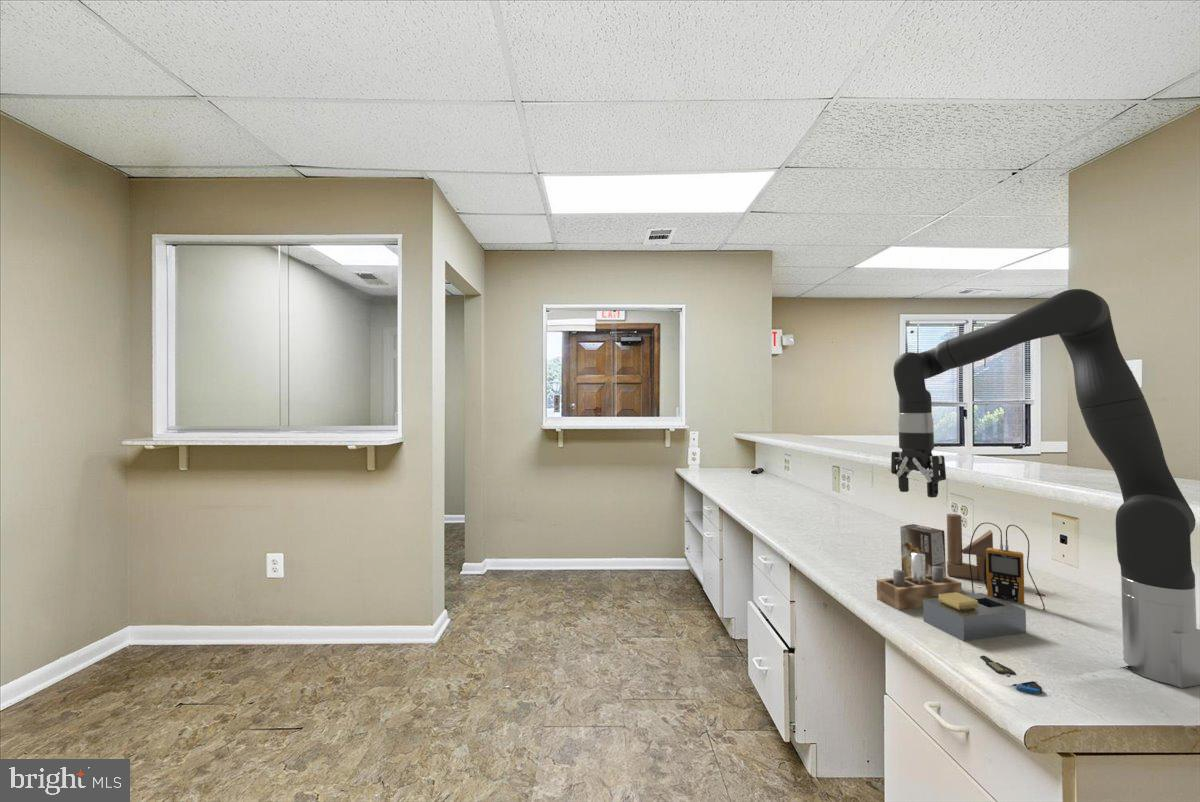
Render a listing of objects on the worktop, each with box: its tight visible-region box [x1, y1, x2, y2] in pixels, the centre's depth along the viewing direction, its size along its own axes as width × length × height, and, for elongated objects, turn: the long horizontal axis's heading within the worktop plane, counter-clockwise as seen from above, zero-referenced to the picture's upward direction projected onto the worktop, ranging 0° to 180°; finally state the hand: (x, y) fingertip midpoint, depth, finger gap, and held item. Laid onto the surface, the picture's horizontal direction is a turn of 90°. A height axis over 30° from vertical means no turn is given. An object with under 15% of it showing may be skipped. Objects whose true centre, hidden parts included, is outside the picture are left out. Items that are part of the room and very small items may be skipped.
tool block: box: [922, 592, 1027, 642], centre depth 110 cm, size 16×10×6 cm, turn 102°
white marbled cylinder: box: [911, 552, 926, 585], centre depth 125 cm, size 3×3×12 cm
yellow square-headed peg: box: [939, 592, 978, 611], centre depth 109 cm, size 5×5×6 cm
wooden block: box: [946, 513, 994, 582], centre depth 144 cm, size 4×11×18 cm, turn 59°
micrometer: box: [979, 655, 1043, 694], centre depth 92 cm, size 12×2×5 cm
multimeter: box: [968, 522, 1046, 611], centre depth 123 cm, size 15×10×20 cm
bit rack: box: [876, 566, 963, 611], centre depth 125 cm, size 19×7×9 cm, turn 102°
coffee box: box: [899, 523, 947, 577], centre depth 138 cm, size 9×6×16 cm
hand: (917, 494), depth 125 cm, fingers open, 8 cm apart
